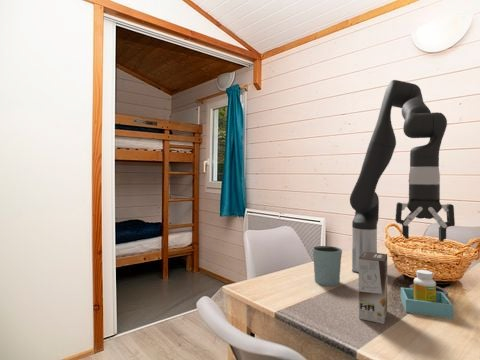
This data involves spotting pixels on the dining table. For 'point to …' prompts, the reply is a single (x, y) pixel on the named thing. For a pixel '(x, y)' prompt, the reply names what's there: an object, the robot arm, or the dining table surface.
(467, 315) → the dining table surface
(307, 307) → the dining table surface
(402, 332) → the dining table surface
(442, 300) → the tray
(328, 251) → the teal cup
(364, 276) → the coffee box
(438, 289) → the holder
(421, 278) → the supplement bottle
